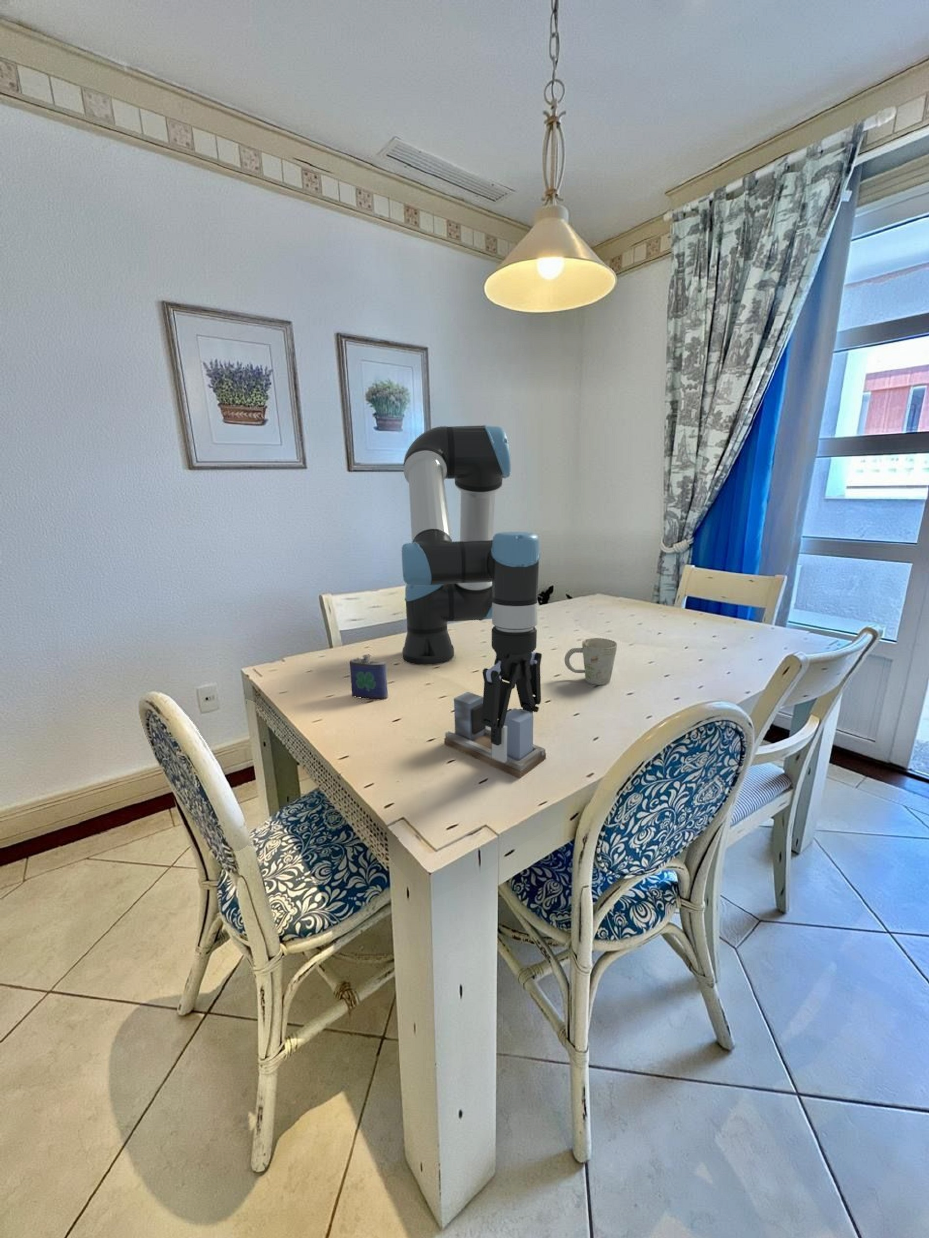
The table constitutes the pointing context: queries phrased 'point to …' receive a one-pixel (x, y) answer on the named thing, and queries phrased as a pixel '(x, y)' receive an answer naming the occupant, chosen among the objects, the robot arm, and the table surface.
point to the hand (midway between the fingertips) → (512, 751)
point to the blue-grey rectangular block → (519, 733)
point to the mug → (595, 659)
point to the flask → (368, 678)
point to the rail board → (484, 737)
